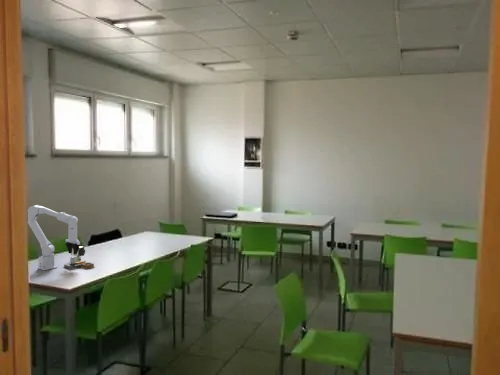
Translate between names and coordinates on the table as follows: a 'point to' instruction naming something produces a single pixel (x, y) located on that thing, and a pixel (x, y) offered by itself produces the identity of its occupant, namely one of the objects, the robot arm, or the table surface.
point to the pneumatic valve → (79, 253)
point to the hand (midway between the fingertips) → (72, 253)
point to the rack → (87, 265)
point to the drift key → (80, 262)
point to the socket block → (72, 266)
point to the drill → (72, 261)
